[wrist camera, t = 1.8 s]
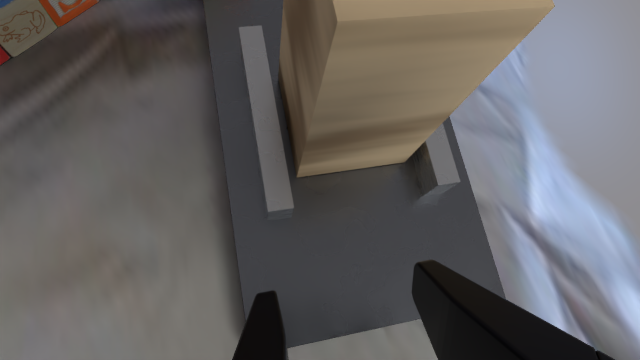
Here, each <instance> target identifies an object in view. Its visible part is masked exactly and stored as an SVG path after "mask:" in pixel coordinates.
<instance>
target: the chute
mask: <svg viewBox="0 0 640 360" xmlns="http://www.w3.org/2000/svg"><path fill="white" fill-rule="evenodd" d="M203 5H204V12H205V20H206V27H207V35H208V42H209V50H210V57H211V65H212V72H213V80H214V87H215V95H216V102H217V110H218V117H219V125H220V132H221V140H222V147H223V155H224V162H225V170H226V177H227V185H228V192H229V200H230V207H231V215H232V223H233V230H234V238H235V245H236V253H237V260H238V268H239V275H240V283H241V290H242V298H243V305H244V313H245V320H247V317H248V315H249V312H250V309H251V306H252V304H253V301H254V298H255V296H256V294H258V293H261V292H266V291H271V290H274V291H276V293H277V297H278V301H279V306H280V310H281V315H282V319H283V324H284V328H285V334H286V342H287V348H290V347H295V346H299V345H304V344H308V343H313V342H317V341H322V340H327V339H331V338H336V337H340V336H345V335H349V334H354V333H358V332H363V331H367V330H372V329H376V328H381V327H385V326H390V325H394V324H399V323H403V322H408V321H412V320H417V319H421V317H420V315H419V313H418V310H417V308H416V305H415V303H414V300H413V297H412V281H413V270H414V265H415V264H416V263H417V262H420V261H425V260H435V261H437V262H439V263H441V264H443V265H445V266H446V267H448V268H450V269H452V270H454V271H455V272H457V273H459V274H461V275H463V276H465V277H466V278H468V279H470V280H472V281H474V282H475V283H477V284H479V285H481V286H483V287H484V288H486V289H488V290H490V291H492V292H494V293H495V294H497V295H499V296H501V297H503V298H504V299H506V298H505V294H504V291H503V288H502V285H501V282H500V278H499V275H498V272H497V269H496V265H495V262H494V259H493V256H492V252H491V249H490V246H489V243H488V240H487V236H486V233H485V230H484V227H483V223H482V220H481V217H480V214H479V211H478V207H477V204H476V201H475V198H474V194H473V191H472V188H471V185H470V181H469V178H468V175H467V172H466V169H465V165H464V162H463V159H462V156H461V152H460V149H459V146H458V143H457V140H456V136H455V133H454V130H453V127H452V123H451V120H450V117H448V118H447V119H446V120H445V121H444V122H443V123H442V124H441V125H440V126H439V127H438V128H437V129H436V130H435V131H434V132H433V133H432V134H431V135H430V136H429V137H428V138H427V139H426V140H425V142H424V143H423V144H422V145H421V146H420V147H419V148H418V149H417V150H416V151H415V152H414V153H413V154H412V155H411V156H410V157H409V158H408V159H407V160H406V161H405V162H403V163H396V164H389V165H382V166H375V167H368V168H361V169H354V170H347V171H340V172H333V173H325V174H318V175H311V176H304V177H296V171H295V166H294V160H293V155H292V150H291V144H290V139H289V133H288V128H287V122H286V117H285V112H284V106H283V101H282V95H281V90H280V84H279V79H278V72H279V57H280V43H281V29H282V15H283V0H203Z"/></svg>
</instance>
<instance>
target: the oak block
mask: <svg viewBox="0 0 640 360" xmlns="http://www.w3.org/2000/svg"><path fill="white" fill-rule="evenodd" d="M554 7H555V5H554V3H553V1H552V0H283V15H282V29H281V43H280V57H279V72H278V79H279V84H280V90H281V95H282V101H283V106H284V112H285V117H286V122H287V128H288V133H289V139H290V144H291V150H292V155H293V160H294V166H295V171H296V177H304V176H311V175H318V174H325V173H333V172H340V171H347V170H354V169H361V168H368V167H375V166H382V165H389V164H396V163H403V162H405V161H406V160H407V159H408V158H409V157H410V156H411V155H412V154H413V153H414V152H415V151H416V150H417V149H418V148H419V147H420V146H421V145H422V144H423V143H424V142H425V140H426V139H427V138H428V137H429V136H430V135H431V134H432V133H433V132H434V131H435V130H436V129H437V128H438V127H439V126H440V125H441V124H442V123H443V122H444V121H445V120H446V119H447V118H448V117H449V116H450V115H451V114H452V112H453V111H454V110H455V109H456V108H457V107H458V106H459V105H460V104H461V103H462V102H463V101H464V100H465V99H466V98H467V97H468V96H469V95H470V94H471V93H472V92H473V91H474V90H475V89H476V88H477V87H478V86H479V85H480V83H481V82H482V81H483V80H484V79H485V78H486V77H487V76H488V75H489V74H490V73H491V72H492V71H493V70H494V69H495V68H496V67H497V66H498V65H499V64H500V63H501V62H502V61H503V60H504V59H505V58H506V57H507V55H508V54H509V53H510V52H511V51H512V50H513V49H514V48H515V47H516V46H517V45H518V44H519V43H520V42H521V41H522V40H523V39H524V38H525V37H526V36H527V35H528V34H529V33H530V32H531V31H532V30H533V29H534V27H535V26H536V25H537V24H538V23H539V22H540V21H541V20H542V19H543V18H544V17H545V16H546V15H547V14H548V13H549V12H550V11H551V10H552V9H553V8H554Z"/></svg>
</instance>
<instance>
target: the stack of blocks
mask: <svg viewBox="0 0 640 360" xmlns="http://www.w3.org/2000/svg"><path fill="white" fill-rule="evenodd" d="M99 1H100V0H0V65H1V64H2V63H4V62H6V61H7V60H8V59H9V58H10V57H16V56H18V55H19V54H21V53H22V52H24V51H25V50H27V49H28V48H30V47H31V46H33V45H34V44H36V43H37V42H39V41H40V40H42V39H43V38H45V37H46V36H48V35H49V34H51V33H52V32H53V31H54V30H56V28H57V27H60V26H62V25H64V24H66V23H67V22H69V21H70V20H72V19H73V18H75V17H76V16H78V15H79V14H81V13H82V12H84V11H86V10H87V9H89V8H90V7H91V6H93V5H95V4H96V3H98V2H99Z"/></svg>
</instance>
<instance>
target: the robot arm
mask: <svg viewBox="0 0 640 360" xmlns="http://www.w3.org/2000/svg"><path fill="white" fill-rule="evenodd" d="M412 297H413V300H414V303H415V305H416V308H417V310H418V313H419V315H420V317H421V320H422V322H423V325H424V327H425V329H426V332H427V334H428V337H429V339H430V341H431V344H432V346H433V349H434V351H435V353H436V356H437V358H438V360H615V359H613V358H612V357H610V356H608V355H606V354H604V353H603V352H601V351H598V350H597V351H595V349H594V348H593V347H591V346H590V345H588V344H586V343H584V342H582V341H581V340H579V339H577V338H575V337H573V336H571V335H570V334H568V333H566V332H564V331H562V330H561V329H559V328H557V327H555V326H553V325H552V324H550V323H548V322H546V321H544V320H542V319H541V318H539V317H537V316H535V315H533V314H532V313H530V312H528V311H526V310H524V309H523V308H521V307H519V306H517V305H515V304H513V303H512V302H510V301H508V300H506V299H504V298H503V297H501V296H499V295H497V294H495V293H494V292H492V291H490V290H488V289H486V288H484V287H483V286H481V285H479V284H477V283H475V282H474V281H472V280H470V279H468V278H466V277H465V276H463V275H461V274H459V273H457V272H455V271H454V270H452V269H450V268H448V267H446V266H445V265H443V264H441V263H439V262H437V261H435V260H425V261H420V262H417V263H416V264H415V265H414V270H413V281H412ZM232 360H288V351H287V342H286V334H285V328H284V324H283V319H282V315H281V310H280V306H279V301H278V297H277V293H276V291H274V290H271V291H266V292H261V293H258V294H256V296H255V298H254V301H253V304H252V306H251V309H250V312H249V315H248V317H247V320H246V323H245V326H244V328H243V331H242V334H241V337H240V339H239V342H238V345H237V348H236V350H235V353H234V356H233V359H232Z"/></svg>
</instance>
